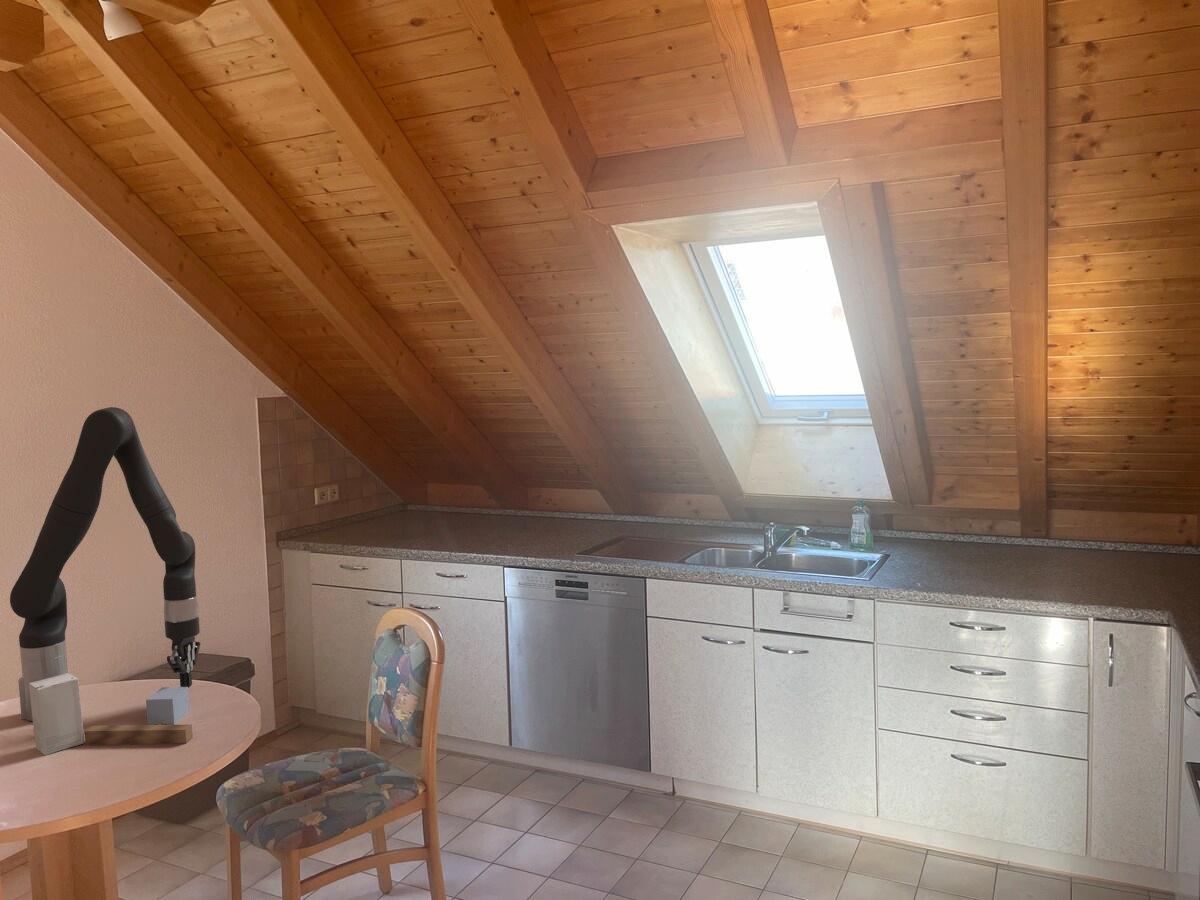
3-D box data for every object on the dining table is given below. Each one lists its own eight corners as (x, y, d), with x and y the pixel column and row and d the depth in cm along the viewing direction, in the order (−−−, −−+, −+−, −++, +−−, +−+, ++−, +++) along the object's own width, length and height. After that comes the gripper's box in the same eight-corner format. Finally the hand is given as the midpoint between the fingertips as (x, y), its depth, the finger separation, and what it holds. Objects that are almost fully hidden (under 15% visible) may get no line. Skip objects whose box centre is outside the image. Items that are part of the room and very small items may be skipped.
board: (85, 744, 206) (84, 731, 206) (93, 739, 209) (91, 725, 209) (186, 743, 206) (185, 729, 205) (192, 737, 209) (191, 724, 208)
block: (147, 725, 217) (145, 699, 217) (164, 712, 225) (162, 687, 224) (174, 724, 217) (172, 699, 216) (189, 711, 225) (187, 686, 224)
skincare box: (75, 737, 211) (70, 671, 209) (85, 744, 207) (80, 677, 205) (33, 749, 205) (27, 681, 203) (42, 756, 201) (37, 687, 199)
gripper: (178, 609, 235) (183, 678, 237) (152, 624, 222) (157, 697, 224) (209, 608, 235) (213, 677, 237) (184, 623, 222) (189, 696, 223)
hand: (186, 686), depth 230 cm, fingers closed
